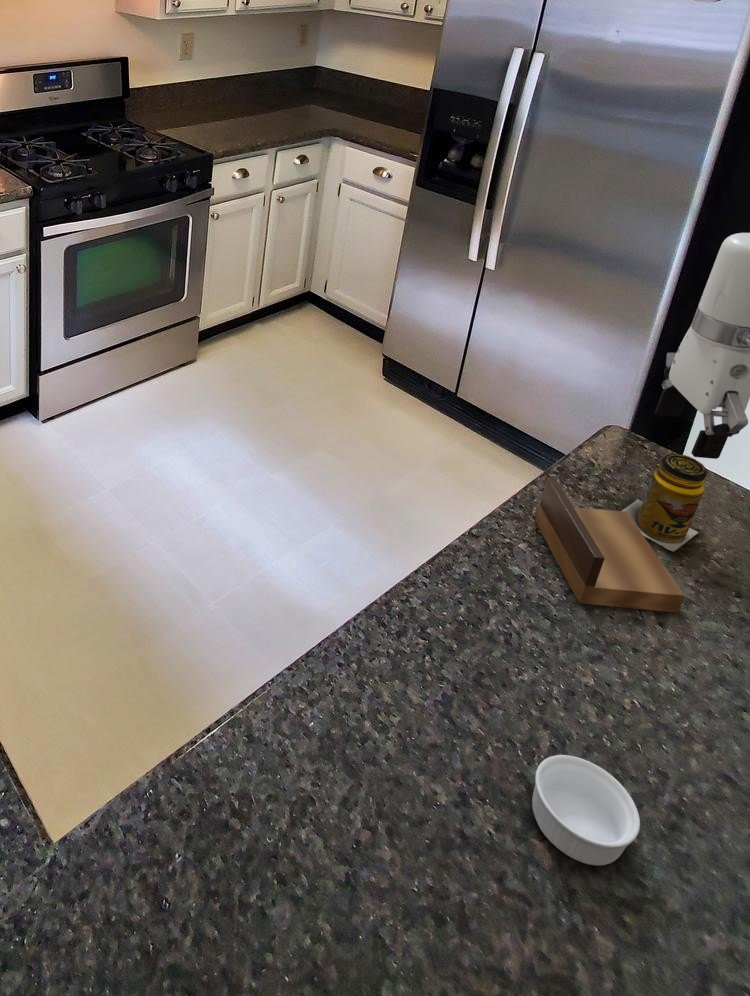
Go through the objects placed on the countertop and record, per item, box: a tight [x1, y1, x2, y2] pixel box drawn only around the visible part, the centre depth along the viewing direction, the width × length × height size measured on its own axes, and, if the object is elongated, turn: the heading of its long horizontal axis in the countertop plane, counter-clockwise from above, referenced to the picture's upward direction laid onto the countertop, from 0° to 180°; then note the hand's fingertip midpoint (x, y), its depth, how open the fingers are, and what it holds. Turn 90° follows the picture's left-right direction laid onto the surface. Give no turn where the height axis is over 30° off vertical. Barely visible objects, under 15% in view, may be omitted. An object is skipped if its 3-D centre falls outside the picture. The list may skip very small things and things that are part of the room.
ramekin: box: [531, 754, 641, 866], centre depth 78 cm, size 9×9×4 cm
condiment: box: [622, 453, 708, 552], centre depth 115 cm, size 7×8×12 cm
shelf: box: [534, 477, 686, 614], centre depth 109 cm, size 12×16×8 cm
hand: (684, 435), depth 111 cm, fingers open, 9 cm apart
